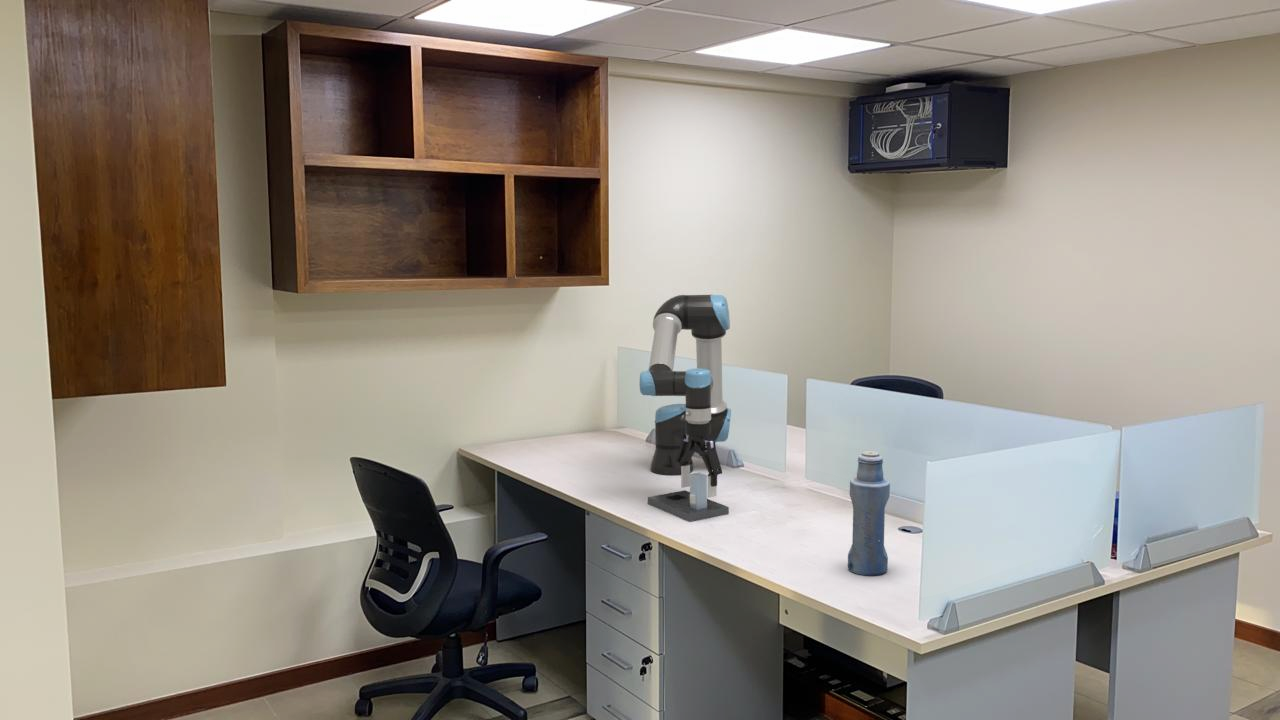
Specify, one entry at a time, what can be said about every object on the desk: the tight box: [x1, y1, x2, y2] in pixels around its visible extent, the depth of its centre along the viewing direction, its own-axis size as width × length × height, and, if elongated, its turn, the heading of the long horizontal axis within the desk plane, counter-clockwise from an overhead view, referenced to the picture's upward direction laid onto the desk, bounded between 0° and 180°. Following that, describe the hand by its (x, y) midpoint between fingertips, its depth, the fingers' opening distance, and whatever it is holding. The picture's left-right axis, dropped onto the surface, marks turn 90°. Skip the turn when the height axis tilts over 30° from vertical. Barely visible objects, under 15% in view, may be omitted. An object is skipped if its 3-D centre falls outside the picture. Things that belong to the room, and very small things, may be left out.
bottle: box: [847, 450, 891, 576], centre depth 247 cm, size 10×10×30 cm
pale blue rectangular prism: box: [689, 472, 708, 510], centre depth 296 cm, size 4×4×12 cm
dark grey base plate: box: [647, 490, 730, 523], centre depth 302 cm, size 14×23×3 cm, turn 32°
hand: (698, 491), depth 296 cm, fingers open, 13 cm apart
